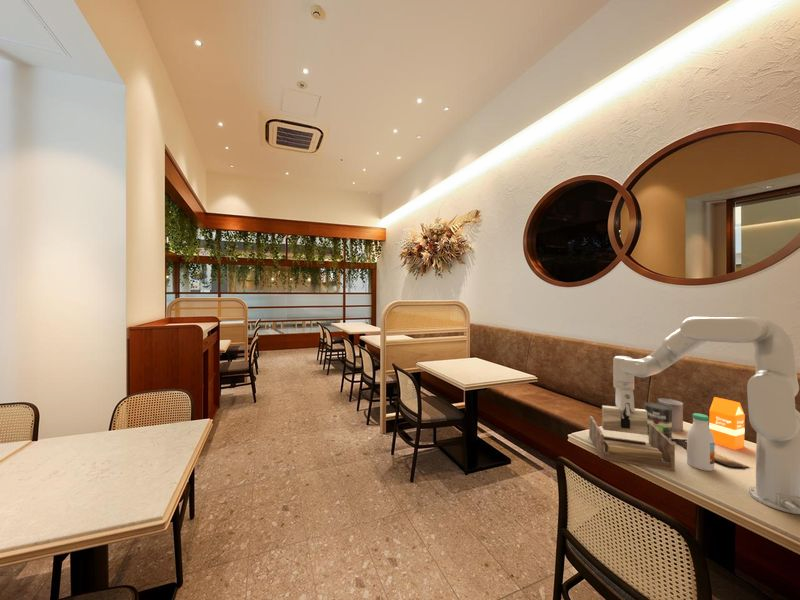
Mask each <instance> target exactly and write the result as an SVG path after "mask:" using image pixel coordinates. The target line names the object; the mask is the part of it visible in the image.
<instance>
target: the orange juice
mask: <svg viewBox="0 0 800 600" xmlns="http://www.w3.org/2000/svg"><path fill="white" fill-rule="evenodd" d="M745 419H746V415H745V413H744V410H743V408H742V405H741V402H738V401H734V400H730V399H726V398H720V397H717V396H714V397H713V400H712V403H711V404H710V408H709V423H708V425H709V428H710V430H711V432H712V434H713V436H714V444H717V445H721V446H724V447H725V448H729V449H732V450H739V449H742V448H745V433H746V432H745V431H746V430H745V422H746V421H745Z"/></svg>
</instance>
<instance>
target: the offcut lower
mask: <svg viewBox="0 0 800 600" xmlns="http://www.w3.org/2000/svg"><path fill="white" fill-rule="evenodd" d="M605 451H606V453H612V454H618V455H625V456H631V457H638V458H644V459H651V460H657V461H662V458H655V457H648V456H640V455H633V454H626V453H618V452H611V451H608V450H607V448H606V447H605Z"/></svg>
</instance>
